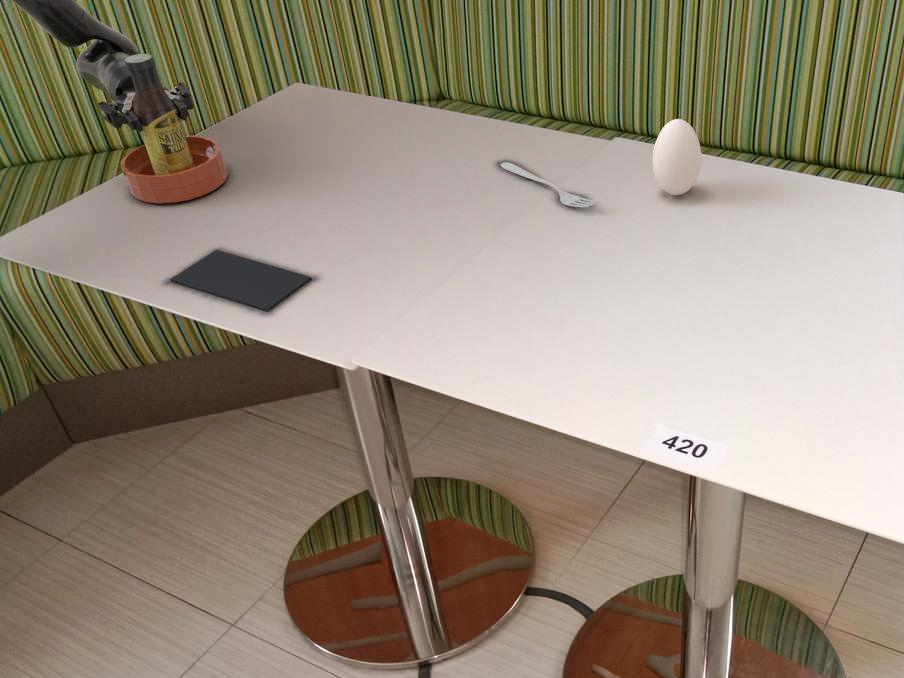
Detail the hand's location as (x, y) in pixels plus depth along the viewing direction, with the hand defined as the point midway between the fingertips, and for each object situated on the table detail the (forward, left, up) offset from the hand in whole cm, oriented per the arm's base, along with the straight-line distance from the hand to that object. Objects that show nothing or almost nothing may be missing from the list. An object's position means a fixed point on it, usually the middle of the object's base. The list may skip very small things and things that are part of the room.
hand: (161, 119), depth 150 cm
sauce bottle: (-1, +2, -11) cm, 12 cm away
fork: (+54, -24, -12) cm, 60 cm away
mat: (+6, -33, -12) cm, 36 cm away
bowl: (-1, +2, -12) cm, 12 cm away
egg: (+72, -34, -12) cm, 81 cm away
